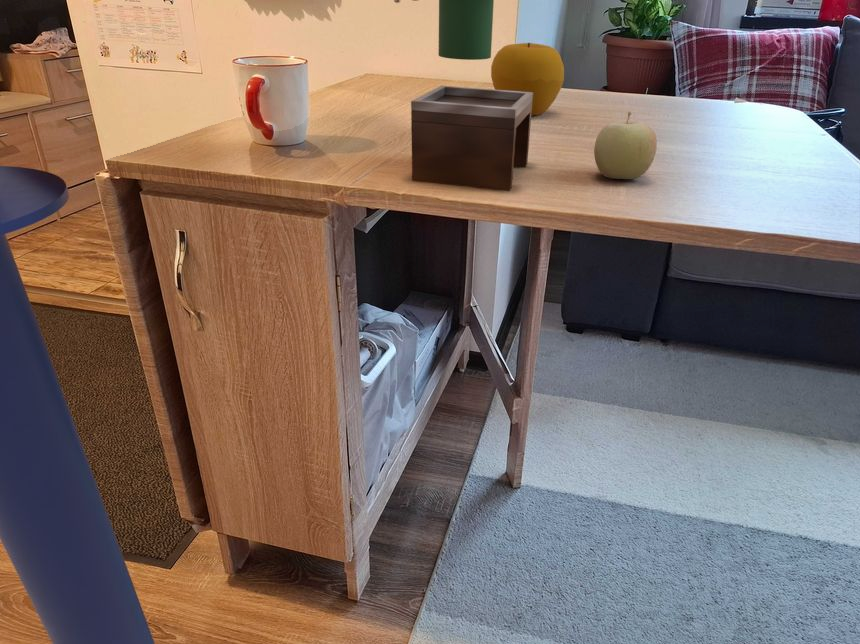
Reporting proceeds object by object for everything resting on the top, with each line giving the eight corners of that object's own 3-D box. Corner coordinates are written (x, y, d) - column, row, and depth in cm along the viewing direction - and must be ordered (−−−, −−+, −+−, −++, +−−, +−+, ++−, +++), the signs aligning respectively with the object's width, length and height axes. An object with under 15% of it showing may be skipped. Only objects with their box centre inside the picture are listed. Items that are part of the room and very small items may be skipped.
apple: (485, 117, 109) (488, 44, 103) (492, 103, 120) (496, 37, 114) (560, 121, 108) (567, 48, 102) (560, 107, 119) (567, 40, 113)
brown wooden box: (411, 180, 76) (410, 100, 71) (440, 156, 86) (440, 85, 81) (510, 190, 73) (515, 109, 69) (527, 164, 83) (533, 92, 79)
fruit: (646, 189, 75) (659, 119, 71) (585, 181, 78) (594, 113, 74) (654, 173, 82) (666, 108, 77) (597, 166, 84) (606, 102, 80)
